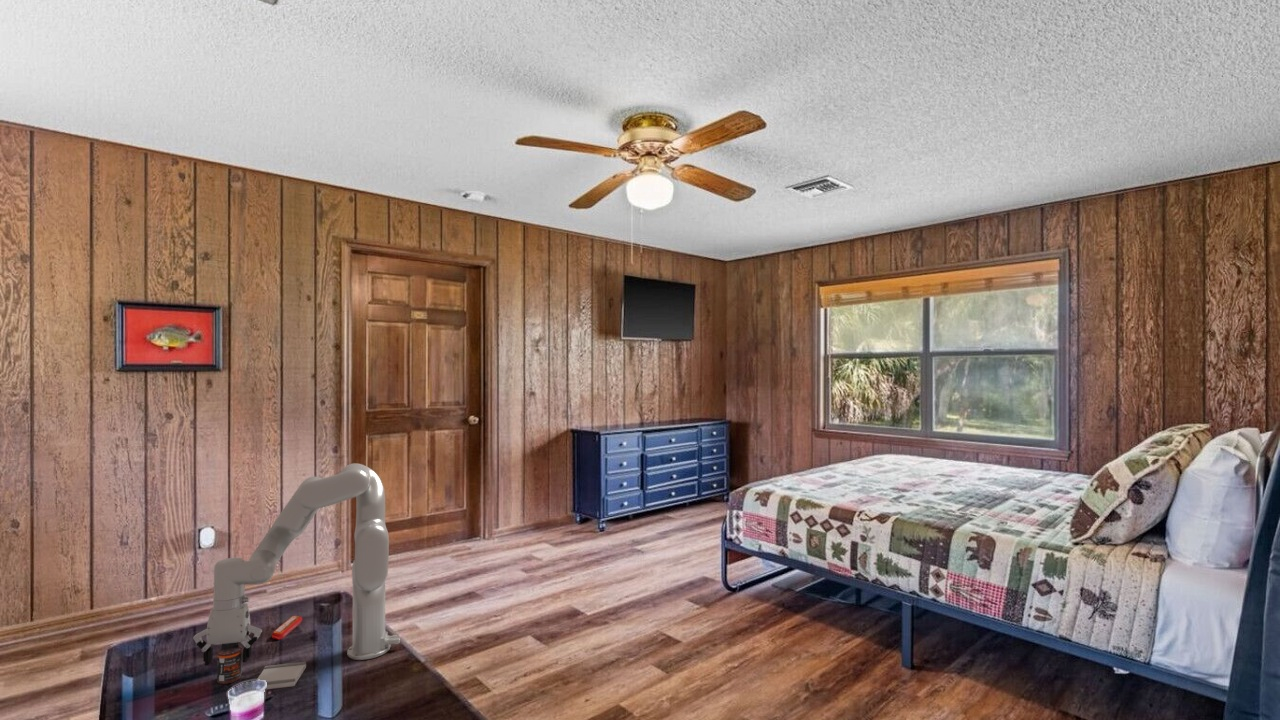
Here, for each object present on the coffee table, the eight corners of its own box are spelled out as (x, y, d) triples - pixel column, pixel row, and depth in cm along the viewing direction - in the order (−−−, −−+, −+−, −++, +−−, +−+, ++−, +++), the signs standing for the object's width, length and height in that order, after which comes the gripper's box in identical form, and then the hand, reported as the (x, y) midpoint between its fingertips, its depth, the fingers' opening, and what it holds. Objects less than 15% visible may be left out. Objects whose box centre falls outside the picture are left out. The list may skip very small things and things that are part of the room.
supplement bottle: (223, 687, 171) (223, 647, 172) (213, 681, 175) (213, 642, 175) (245, 677, 177) (245, 639, 177) (235, 672, 180) (235, 634, 180)
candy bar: (280, 642, 200) (280, 632, 200) (269, 642, 200) (269, 633, 200) (304, 621, 216) (304, 613, 216) (293, 621, 216) (293, 613, 216)
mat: (306, 667, 183) (306, 661, 183) (294, 685, 172) (294, 679, 172) (265, 671, 180) (265, 666, 180) (250, 691, 169) (251, 684, 169)
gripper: (266, 595, 181) (265, 653, 181) (201, 600, 177) (199, 658, 177) (257, 605, 174) (255, 665, 174) (188, 609, 170) (186, 671, 170)
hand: (227, 661), depth 175 cm, fingers open, 9 cm apart
